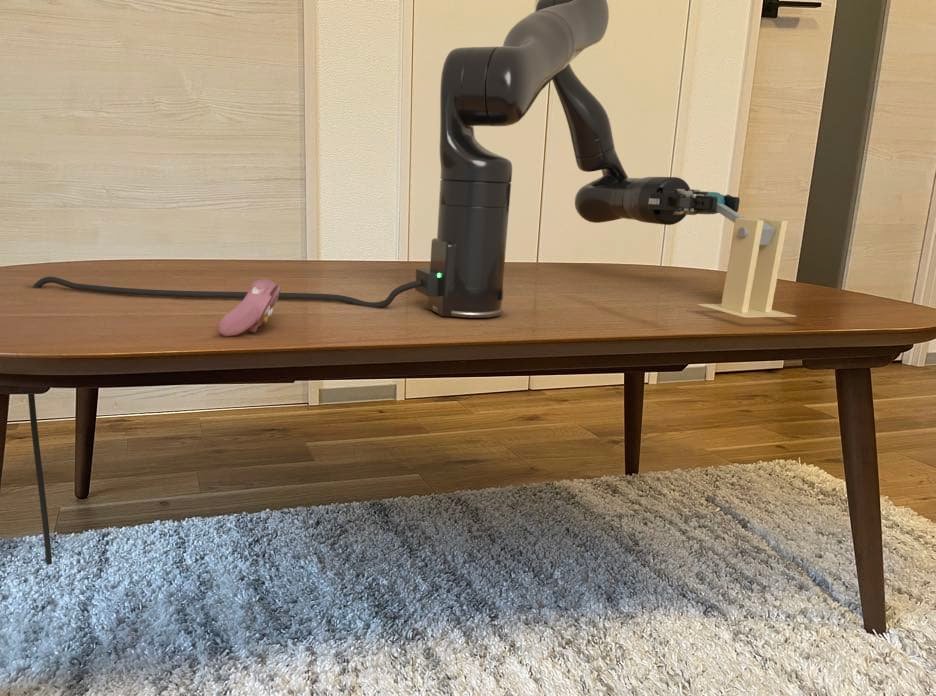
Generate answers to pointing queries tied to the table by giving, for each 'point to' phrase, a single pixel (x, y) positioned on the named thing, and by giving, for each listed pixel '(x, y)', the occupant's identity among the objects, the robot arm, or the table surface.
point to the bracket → (752, 270)
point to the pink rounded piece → (251, 309)
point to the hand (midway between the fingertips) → (725, 204)
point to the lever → (732, 215)
